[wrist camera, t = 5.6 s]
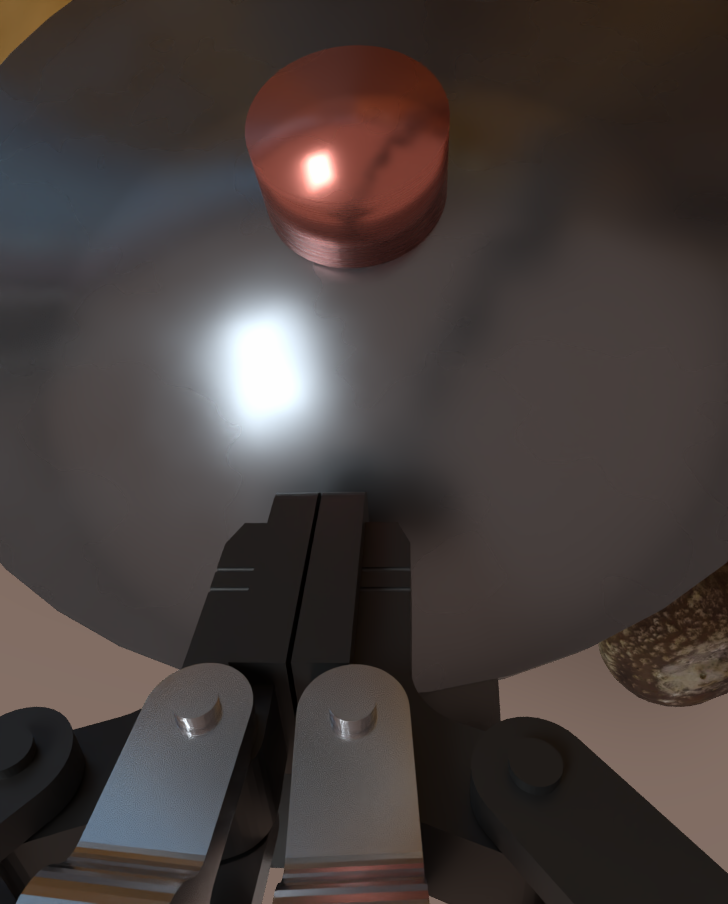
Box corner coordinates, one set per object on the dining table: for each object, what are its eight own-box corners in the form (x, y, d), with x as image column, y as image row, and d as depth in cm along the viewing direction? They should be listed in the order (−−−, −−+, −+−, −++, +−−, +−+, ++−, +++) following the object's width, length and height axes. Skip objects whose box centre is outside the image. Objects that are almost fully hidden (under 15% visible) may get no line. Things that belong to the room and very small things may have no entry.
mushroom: (589, 410, 41) (668, 579, 28) (719, 448, 42) (853, 628, 29) (527, 527, 46) (571, 717, 33) (645, 559, 47) (732, 756, 34)
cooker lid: (738, -94, 19) (795, -244, 16) (1023, 875, 11) (1256, 937, 8) (24, -33, 21) (-43, -157, 18) (-223, 839, 12) (-429, 877, 9)
